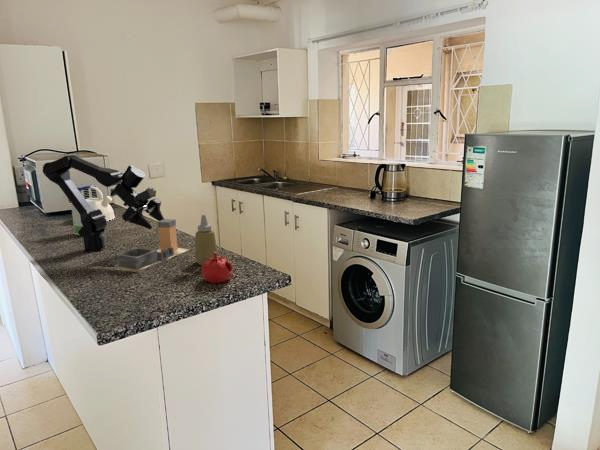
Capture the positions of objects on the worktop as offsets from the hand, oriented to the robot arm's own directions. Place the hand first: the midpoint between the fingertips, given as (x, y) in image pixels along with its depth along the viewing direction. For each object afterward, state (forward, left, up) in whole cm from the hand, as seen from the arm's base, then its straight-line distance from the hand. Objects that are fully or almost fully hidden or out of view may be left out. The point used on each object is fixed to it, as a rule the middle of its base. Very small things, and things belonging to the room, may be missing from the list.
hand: (158, 225), depth 171 cm
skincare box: (-39, +40, -11) cm, 56 cm away
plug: (+3, -1, -10) cm, 11 cm away
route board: (-1, -8, -11) cm, 14 cm away
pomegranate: (+22, -34, -11) cm, 43 cm away
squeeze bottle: (+18, -18, -11) cm, 28 cm away
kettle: (-44, +70, -11) cm, 83 cm away
